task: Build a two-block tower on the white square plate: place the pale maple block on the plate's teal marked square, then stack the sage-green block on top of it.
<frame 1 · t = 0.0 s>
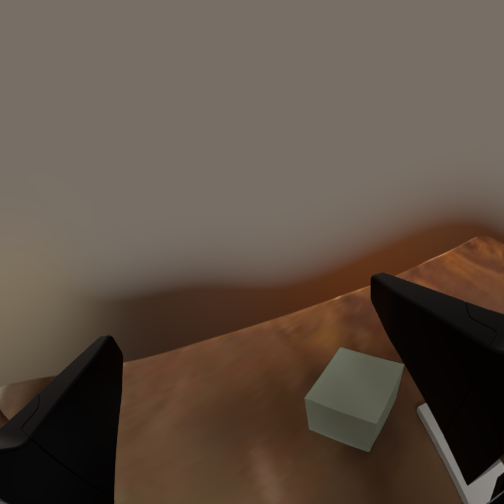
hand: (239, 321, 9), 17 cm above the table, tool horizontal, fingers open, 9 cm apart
sage block: (354, 416, 21), on the table
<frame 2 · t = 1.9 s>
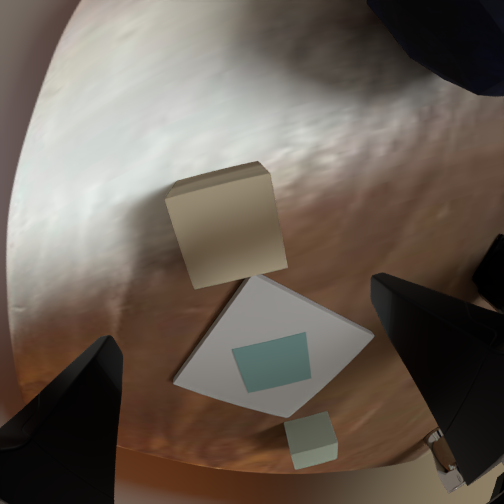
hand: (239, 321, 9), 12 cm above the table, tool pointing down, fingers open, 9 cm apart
maple block: (226, 208, 20), on the table
beer glass: (435, 431, 44), on the table
decorative orb: (412, 14, 15), on the table
sage block: (306, 426, 33), on the table
white square plate: (273, 359, 27), on the table
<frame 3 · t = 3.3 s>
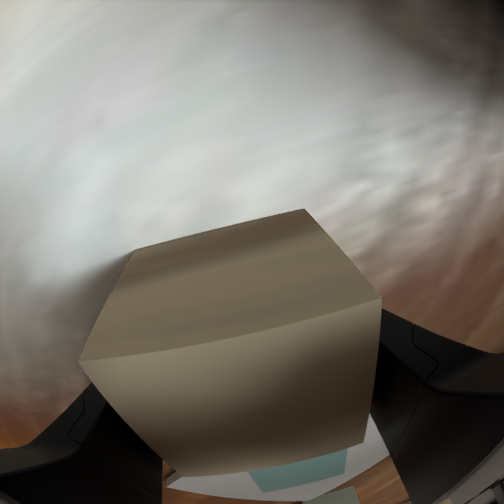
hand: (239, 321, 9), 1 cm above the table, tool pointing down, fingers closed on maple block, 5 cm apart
maple block: (237, 301, 10), on the table, touching gripper
sage block: (327, 498, 23), on the table
white square plate: (298, 462, 17), on the table
when the fingers open (3 cm above the table, at t = 8.3 s): maple block drops 1 cm, resting on white square plate.
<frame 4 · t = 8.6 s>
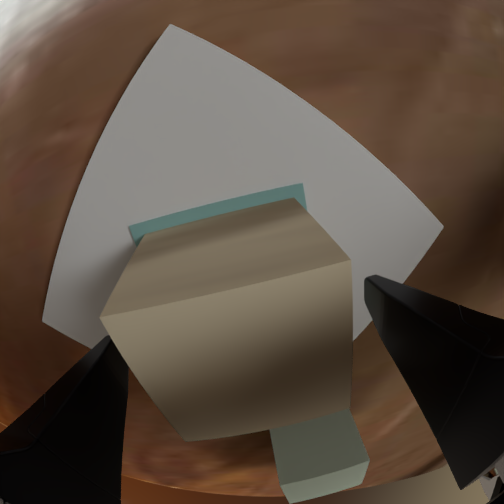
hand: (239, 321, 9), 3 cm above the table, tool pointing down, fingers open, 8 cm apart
maple block: (235, 281, 11), point 1 cm above the table, touching white square plate
beer glass: (475, 429, 29), on the table
sage block: (310, 430, 19), on the table
white square plate: (233, 270, 12), on the table
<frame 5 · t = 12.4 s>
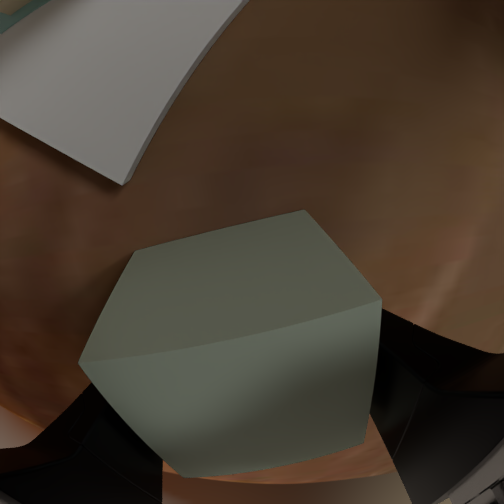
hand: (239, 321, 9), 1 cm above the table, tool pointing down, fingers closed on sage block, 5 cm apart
sage block: (237, 302, 10), on the table, touching gripper
when the fingers open (8 cm above the table, at t = 16.4 s): sage block drops 1 cm, resting on maple block.
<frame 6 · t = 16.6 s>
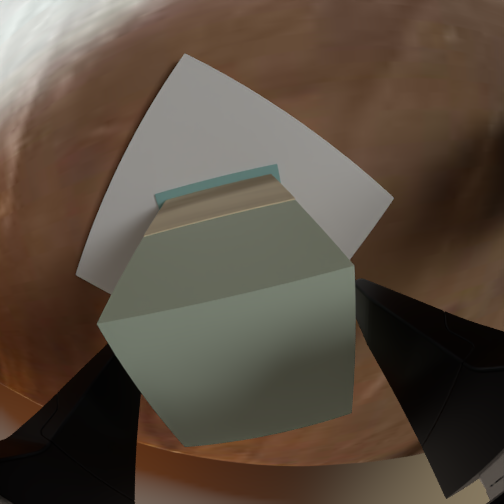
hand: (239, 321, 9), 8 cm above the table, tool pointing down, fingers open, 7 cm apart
maple block: (230, 235, 16), point 1 cm above the table, touching white square plate, sage block
sage block: (235, 284, 11), point 6 cm above the table, touching maple block
white square plate: (229, 229, 17), on the table
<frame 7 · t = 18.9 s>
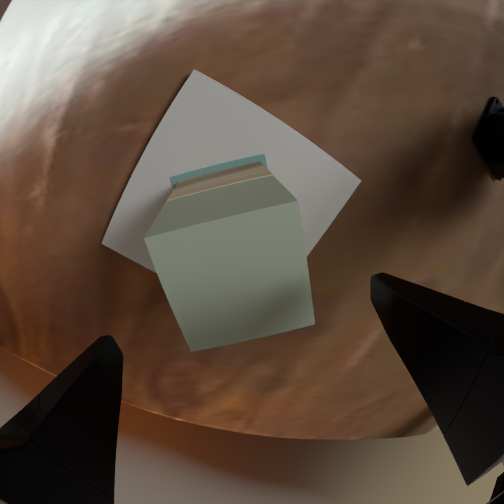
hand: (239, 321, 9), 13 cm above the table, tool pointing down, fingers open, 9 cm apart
maple block: (228, 209, 20), point 1 cm above the table, touching white square plate, sage block
sage block: (231, 237, 16), point 6 cm above the table, touching maple block
white square plate: (227, 206, 21), on the table
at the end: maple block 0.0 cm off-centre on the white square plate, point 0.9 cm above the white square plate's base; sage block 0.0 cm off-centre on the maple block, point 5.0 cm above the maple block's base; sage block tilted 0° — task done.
